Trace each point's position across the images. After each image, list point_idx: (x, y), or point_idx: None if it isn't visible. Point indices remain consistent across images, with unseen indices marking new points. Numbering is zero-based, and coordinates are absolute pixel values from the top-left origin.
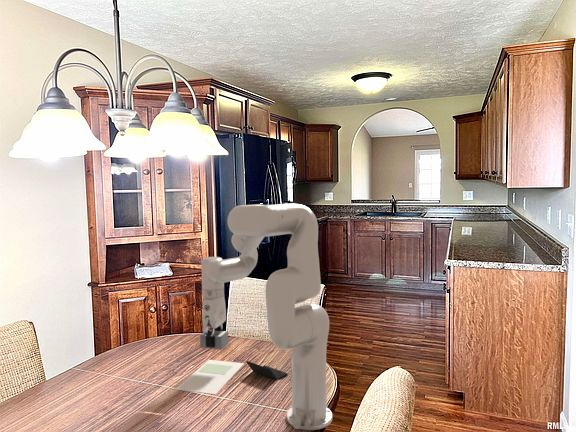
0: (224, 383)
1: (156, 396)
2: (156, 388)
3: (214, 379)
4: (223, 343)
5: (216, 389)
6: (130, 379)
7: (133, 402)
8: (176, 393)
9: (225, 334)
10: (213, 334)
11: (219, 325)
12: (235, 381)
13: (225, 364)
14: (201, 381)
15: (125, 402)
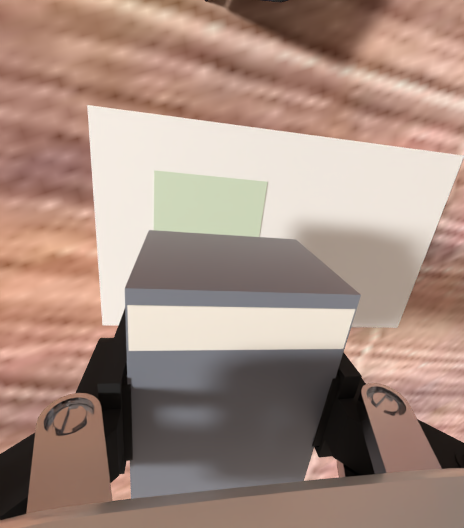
0: (366, 147)
1: (427, 356)
2: (373, 382)
3: (321, 214)
4: (268, 250)
5: (422, 167)
6: (310, 468)
7: (451, 392)
8: (416, 310)
9: (221, 283)
10: (370, 401)
11: (401, 482)
12: (327, 96)
13: (138, 221)
14: (340, 263)
15: (447, 408)
